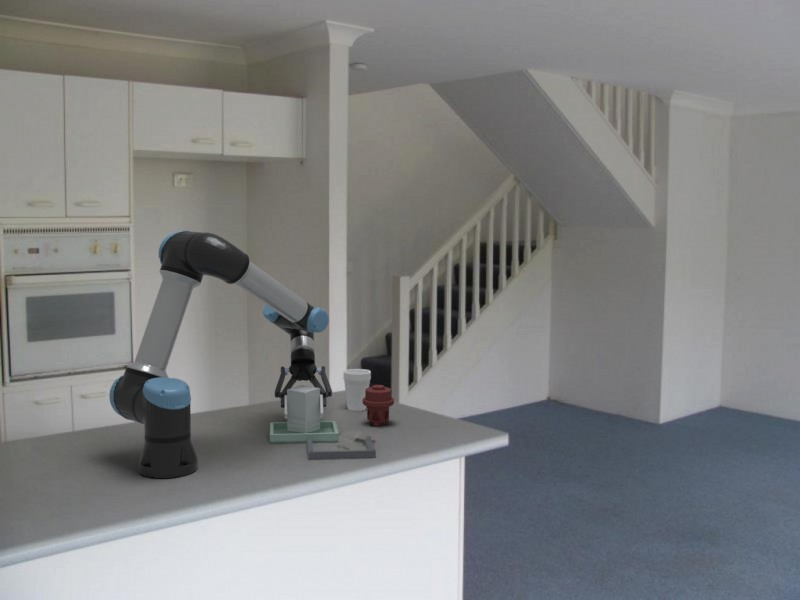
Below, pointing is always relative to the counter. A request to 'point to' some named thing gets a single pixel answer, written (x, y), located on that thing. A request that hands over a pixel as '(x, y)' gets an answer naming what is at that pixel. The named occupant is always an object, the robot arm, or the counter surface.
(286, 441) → the tray
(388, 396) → the mechanical component
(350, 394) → the foam cup
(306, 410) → the supplement box
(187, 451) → the robot arm
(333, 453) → the dock
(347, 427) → the counter surface
